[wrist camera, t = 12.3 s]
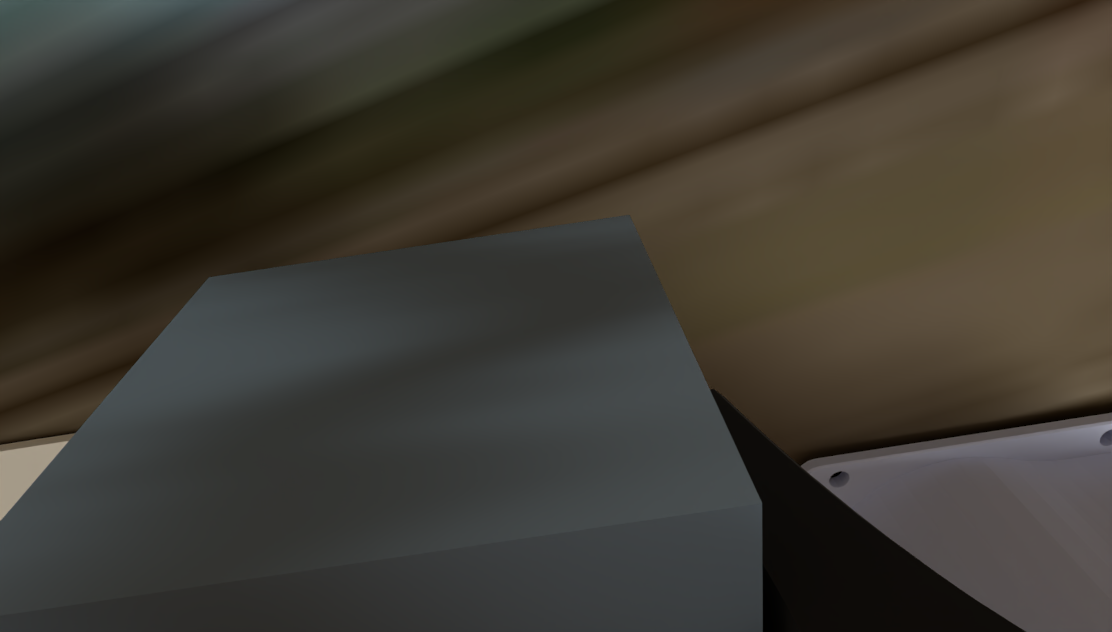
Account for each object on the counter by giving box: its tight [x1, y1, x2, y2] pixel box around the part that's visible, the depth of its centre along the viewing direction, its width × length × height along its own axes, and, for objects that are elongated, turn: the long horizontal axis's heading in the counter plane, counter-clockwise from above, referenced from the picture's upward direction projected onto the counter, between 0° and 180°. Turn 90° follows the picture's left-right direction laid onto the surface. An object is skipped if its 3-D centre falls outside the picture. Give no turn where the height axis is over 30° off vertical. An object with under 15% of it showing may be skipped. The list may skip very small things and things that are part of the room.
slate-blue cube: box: [0, 215, 763, 632], centre depth 8 cm, size 5×5×5 cm
